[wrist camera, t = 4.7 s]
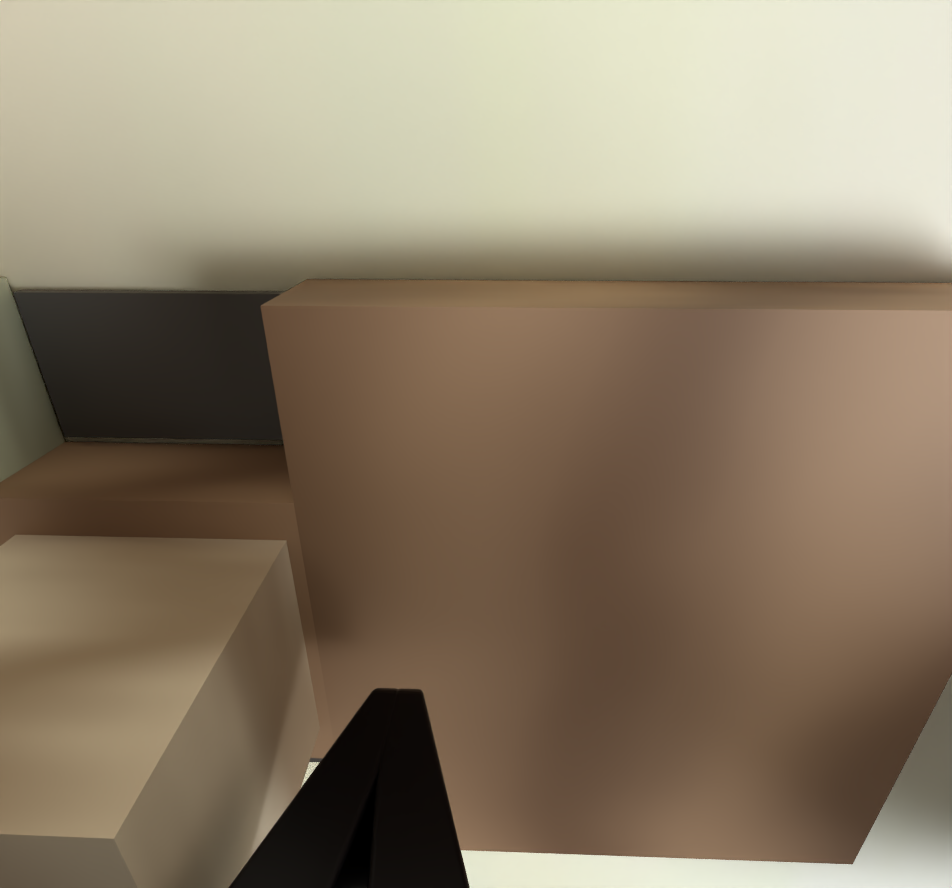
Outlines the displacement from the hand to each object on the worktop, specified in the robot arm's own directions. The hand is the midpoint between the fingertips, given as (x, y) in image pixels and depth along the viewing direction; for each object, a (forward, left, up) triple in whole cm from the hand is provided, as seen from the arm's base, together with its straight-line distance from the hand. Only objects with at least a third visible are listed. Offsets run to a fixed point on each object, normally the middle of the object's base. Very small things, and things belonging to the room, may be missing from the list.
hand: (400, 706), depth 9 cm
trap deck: (+2, 0, -3) cm, 4 cm away
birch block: (+4, 0, -1) cm, 4 cm away
